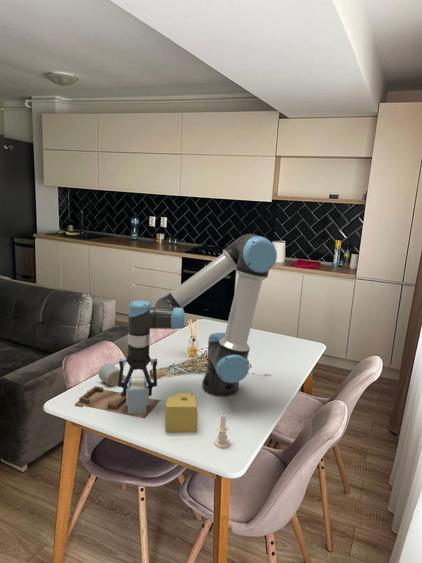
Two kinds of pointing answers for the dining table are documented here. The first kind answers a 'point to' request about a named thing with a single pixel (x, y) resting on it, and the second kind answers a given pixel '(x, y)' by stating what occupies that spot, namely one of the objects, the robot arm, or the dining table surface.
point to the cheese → (181, 413)
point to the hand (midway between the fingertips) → (137, 403)
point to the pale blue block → (137, 395)
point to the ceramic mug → (110, 374)
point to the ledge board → (111, 401)
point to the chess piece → (222, 434)
